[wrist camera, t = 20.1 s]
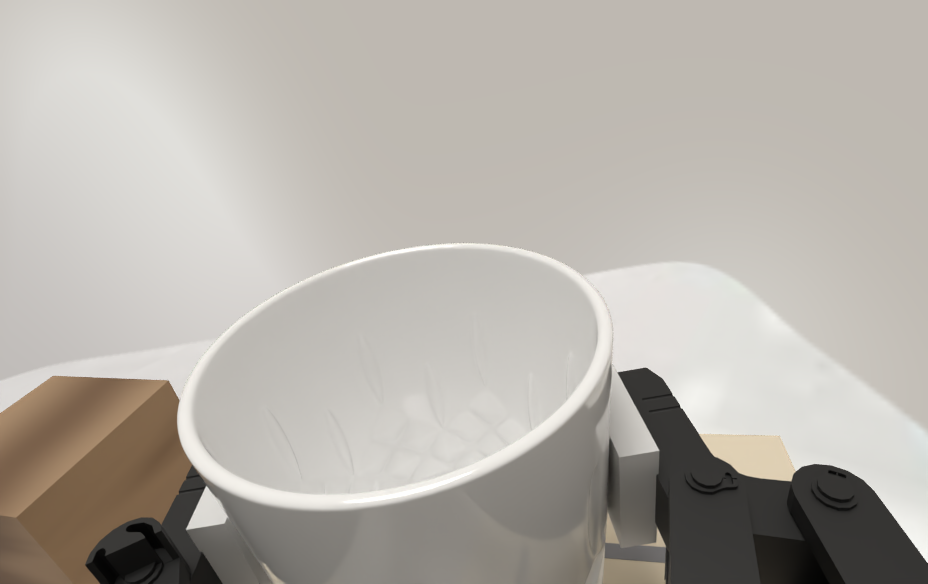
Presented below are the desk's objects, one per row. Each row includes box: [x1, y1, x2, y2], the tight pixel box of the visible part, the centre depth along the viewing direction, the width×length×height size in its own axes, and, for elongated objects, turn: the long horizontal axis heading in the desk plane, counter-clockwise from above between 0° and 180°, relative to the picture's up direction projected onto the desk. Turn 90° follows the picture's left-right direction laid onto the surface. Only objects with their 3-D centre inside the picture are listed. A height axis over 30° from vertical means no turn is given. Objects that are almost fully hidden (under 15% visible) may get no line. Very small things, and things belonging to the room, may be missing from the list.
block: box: [0, 376, 192, 584], centre depth 19 cm, size 6×6×5 cm
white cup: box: [177, 243, 613, 584], centre depth 12 cm, size 8×8×10 cm
